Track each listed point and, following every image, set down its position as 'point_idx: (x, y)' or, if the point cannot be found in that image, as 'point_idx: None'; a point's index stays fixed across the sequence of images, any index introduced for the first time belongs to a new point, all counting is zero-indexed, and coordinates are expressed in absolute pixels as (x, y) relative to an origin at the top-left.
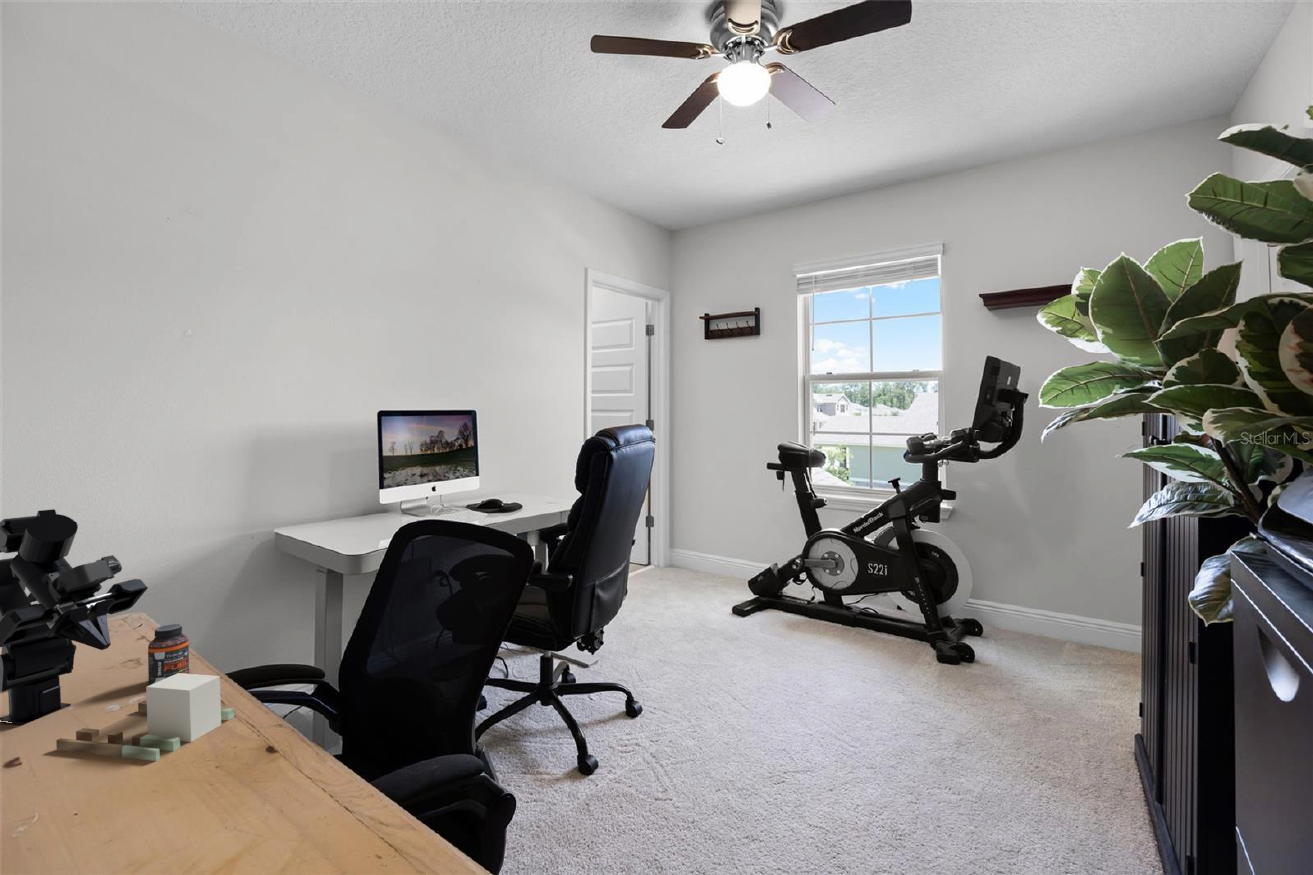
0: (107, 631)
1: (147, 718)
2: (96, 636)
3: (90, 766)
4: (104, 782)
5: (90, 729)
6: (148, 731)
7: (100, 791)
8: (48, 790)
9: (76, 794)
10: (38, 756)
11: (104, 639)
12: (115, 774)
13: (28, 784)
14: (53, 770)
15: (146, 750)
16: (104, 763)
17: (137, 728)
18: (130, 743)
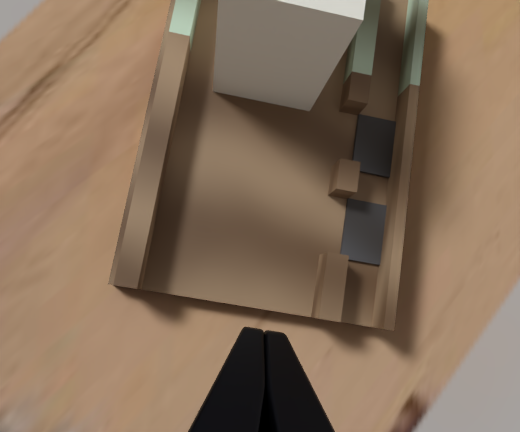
0: (210, 414)
1: (324, 85)
2: (323, 416)
3: (411, 181)
4: (468, 84)
5: (328, 282)
6: (314, 101)
7: (498, 63)
8: (506, 188)
9: (512, 107)
10: (373, 389)
11: (270, 368)
12: (438, 86)
13: (490, 266)
14: (433, 265)
15: (426, 10)
16: None
17: (257, 189)
18: (341, 134)
